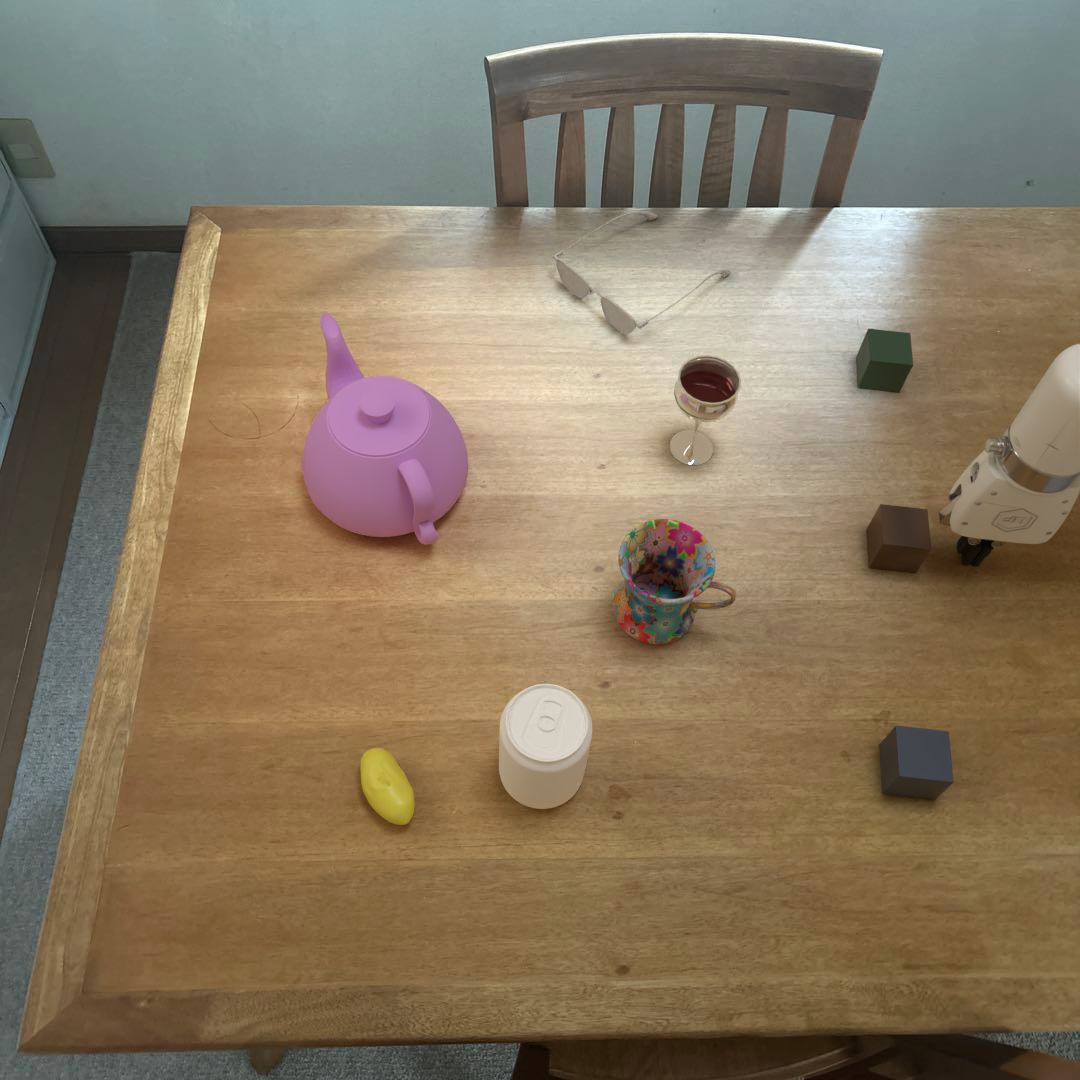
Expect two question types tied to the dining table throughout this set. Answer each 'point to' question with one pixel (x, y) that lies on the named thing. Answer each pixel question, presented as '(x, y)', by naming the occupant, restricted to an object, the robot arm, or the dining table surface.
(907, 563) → the walnut block
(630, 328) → the eyeglasses
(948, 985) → the dining table surface
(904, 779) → the block
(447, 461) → the teapot
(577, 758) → the beverage can
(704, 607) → the mug
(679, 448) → the wineglass
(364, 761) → the yellow potato
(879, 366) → the green block
